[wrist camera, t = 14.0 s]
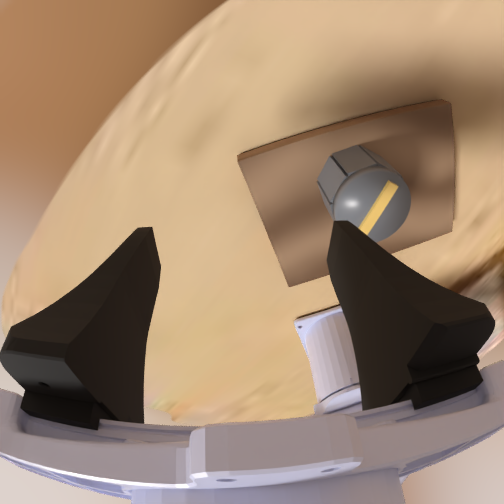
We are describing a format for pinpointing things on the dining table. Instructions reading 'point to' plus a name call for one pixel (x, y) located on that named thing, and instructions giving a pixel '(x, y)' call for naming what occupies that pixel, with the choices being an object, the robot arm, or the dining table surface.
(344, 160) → the grey control knob
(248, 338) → the dining table surface
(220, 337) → the dining table surface
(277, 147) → the stud board
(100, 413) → the robot arm
